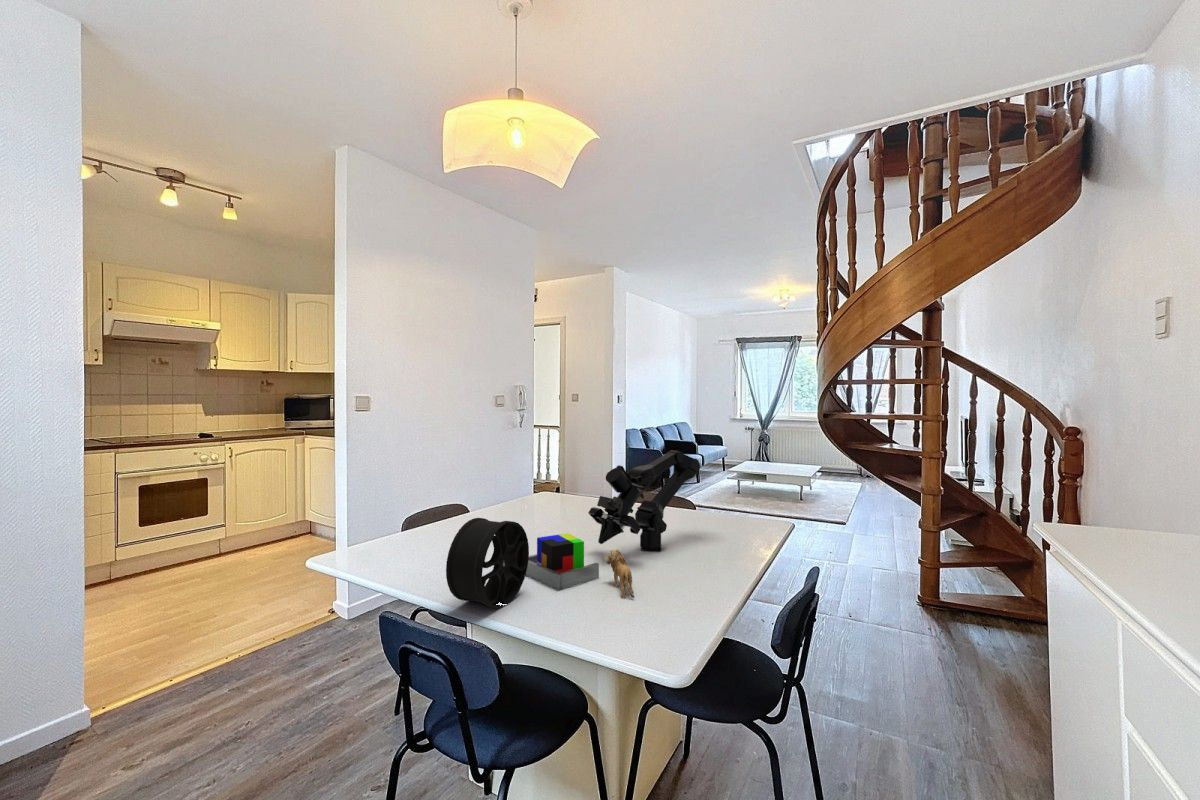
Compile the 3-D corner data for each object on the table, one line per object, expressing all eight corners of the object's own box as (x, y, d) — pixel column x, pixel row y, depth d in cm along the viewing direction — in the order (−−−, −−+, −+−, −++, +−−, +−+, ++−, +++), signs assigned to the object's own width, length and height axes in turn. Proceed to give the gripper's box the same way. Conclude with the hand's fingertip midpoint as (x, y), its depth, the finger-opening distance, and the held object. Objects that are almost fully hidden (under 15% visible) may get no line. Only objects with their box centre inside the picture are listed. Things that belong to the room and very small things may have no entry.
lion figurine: (602, 581, 138) (603, 548, 138) (620, 579, 140) (620, 546, 140) (624, 601, 124) (624, 565, 124) (644, 598, 126) (644, 562, 126)
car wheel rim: (481, 621, 113) (481, 532, 113) (445, 613, 117) (446, 527, 117) (528, 590, 131) (529, 513, 131) (496, 584, 135) (496, 510, 135)
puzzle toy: (536, 572, 145) (537, 537, 145) (567, 566, 150) (568, 533, 150) (551, 583, 137) (551, 546, 137) (583, 576, 142) (584, 541, 142)
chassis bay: (558, 561, 154) (558, 548, 154) (598, 578, 141) (598, 563, 141) (519, 572, 145) (519, 558, 145) (558, 590, 131) (558, 575, 131)
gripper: (592, 482, 163) (565, 522, 156) (633, 490, 149) (606, 534, 142) (610, 502, 169) (585, 542, 162) (651, 512, 155) (626, 555, 148)
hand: (599, 543), depth 153 cm, fingers closed
